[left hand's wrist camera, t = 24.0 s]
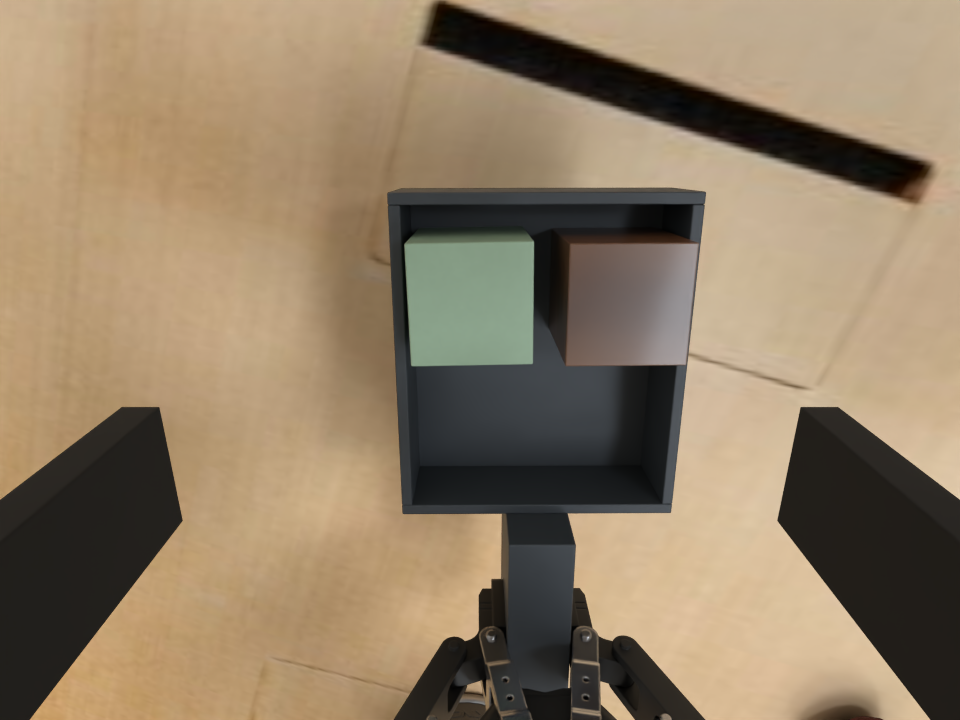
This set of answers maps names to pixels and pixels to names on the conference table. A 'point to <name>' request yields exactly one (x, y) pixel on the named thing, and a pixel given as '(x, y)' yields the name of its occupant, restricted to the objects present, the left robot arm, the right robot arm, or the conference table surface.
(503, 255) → the sage block
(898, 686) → the conference table surface
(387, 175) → the conference table surface
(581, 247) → the walnut block
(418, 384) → the tote
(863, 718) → the dark red ball
